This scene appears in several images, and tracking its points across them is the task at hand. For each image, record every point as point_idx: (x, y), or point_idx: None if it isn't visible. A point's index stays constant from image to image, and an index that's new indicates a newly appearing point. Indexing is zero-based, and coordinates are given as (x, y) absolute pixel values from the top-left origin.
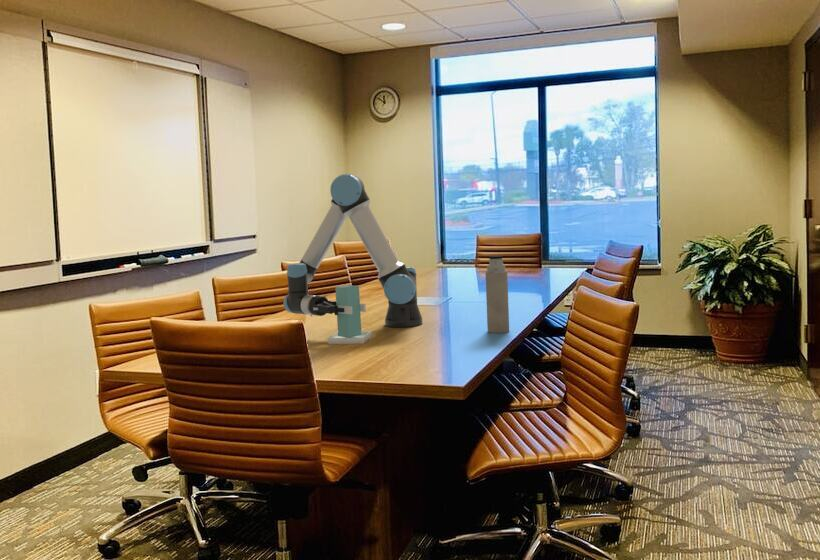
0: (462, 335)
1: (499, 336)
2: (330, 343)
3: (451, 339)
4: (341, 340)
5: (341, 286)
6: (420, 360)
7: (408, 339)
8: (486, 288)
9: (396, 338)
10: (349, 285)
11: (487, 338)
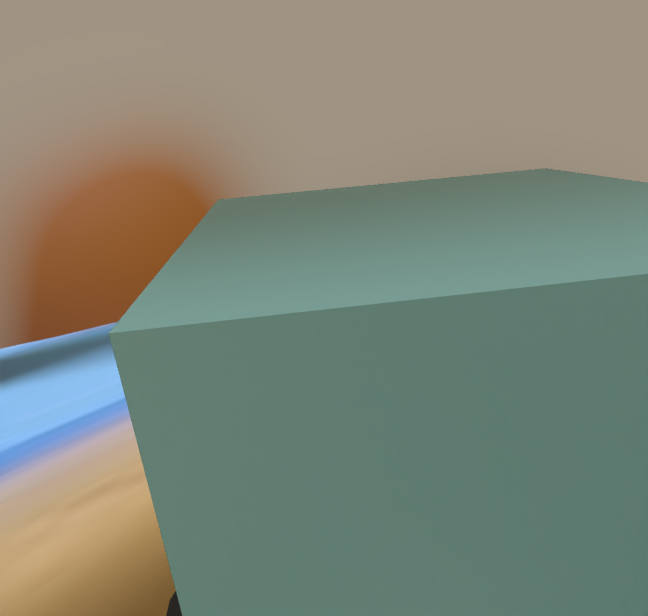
0: (3, 423)
1: (23, 359)
2: None
3: (106, 403)
4: None
5: (615, 241)
6: None
7: (154, 511)
8: None
9: (142, 587)
10: (202, 264)
11: (66, 360)
